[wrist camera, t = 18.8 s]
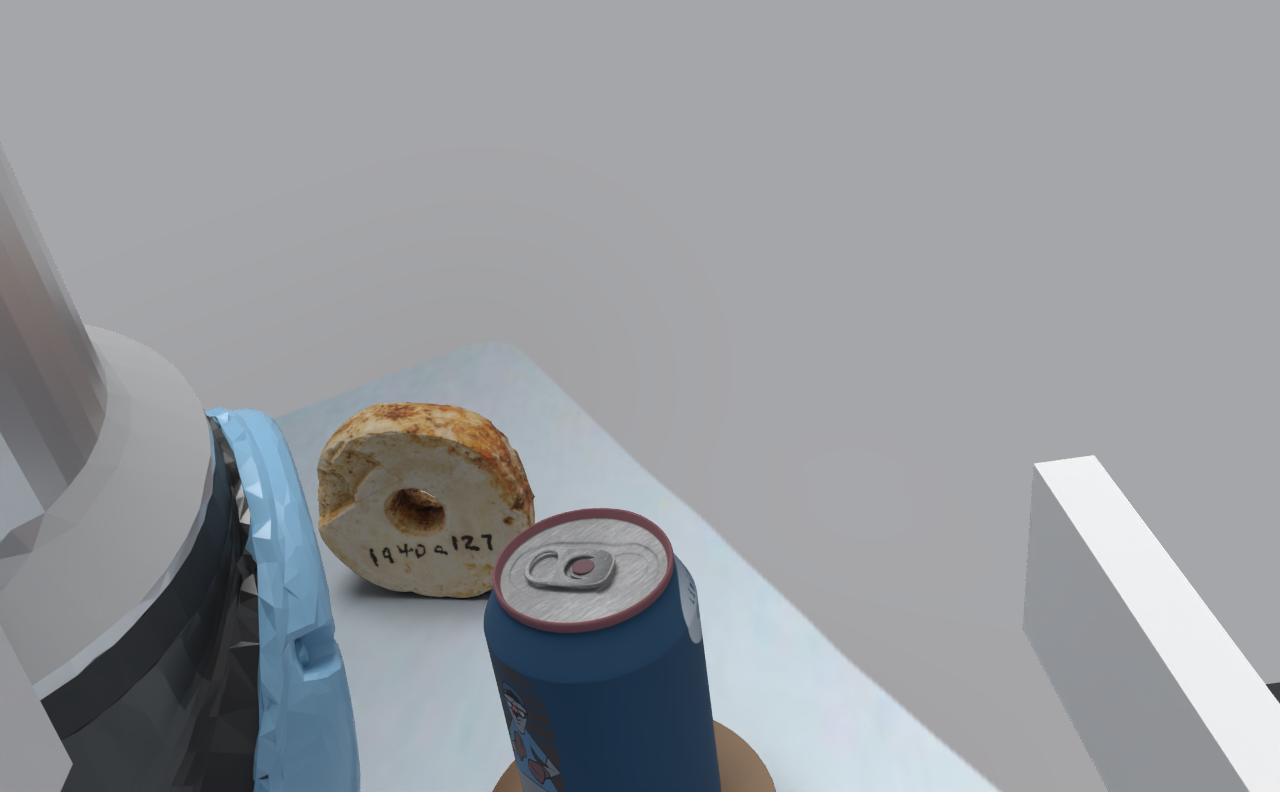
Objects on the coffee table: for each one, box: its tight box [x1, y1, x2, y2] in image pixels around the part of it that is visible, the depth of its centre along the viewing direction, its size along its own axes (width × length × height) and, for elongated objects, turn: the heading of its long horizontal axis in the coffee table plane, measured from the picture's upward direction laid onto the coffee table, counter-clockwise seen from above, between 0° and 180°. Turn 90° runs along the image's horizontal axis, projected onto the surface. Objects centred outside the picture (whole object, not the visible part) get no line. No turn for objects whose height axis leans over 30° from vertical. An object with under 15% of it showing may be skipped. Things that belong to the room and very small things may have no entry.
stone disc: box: [317, 402, 535, 598], centre depth 55 cm, size 10×4×10 cm, turn 79°
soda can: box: [484, 508, 721, 792], centre depth 40 cm, size 7×7×12 cm
